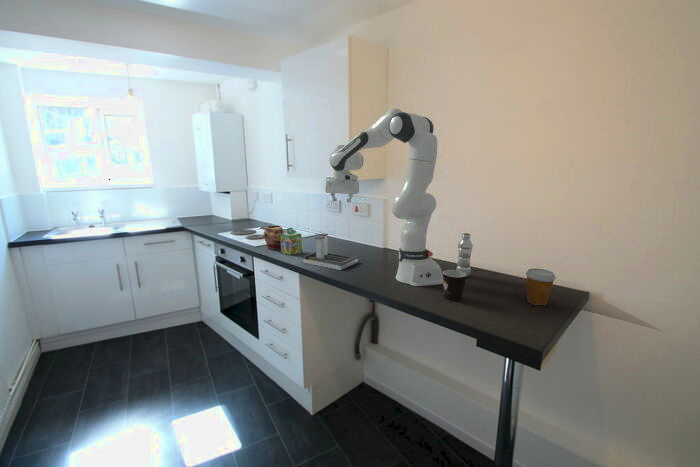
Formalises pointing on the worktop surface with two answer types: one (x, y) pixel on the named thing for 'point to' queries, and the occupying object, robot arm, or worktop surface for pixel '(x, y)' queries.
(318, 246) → the cylinder
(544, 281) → the disposable coffee cup
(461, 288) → the coffee mug
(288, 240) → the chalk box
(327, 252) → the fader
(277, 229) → the decorative planter
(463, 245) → the plastic bottle
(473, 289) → the worktop surface
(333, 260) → the grey rectangular tray
